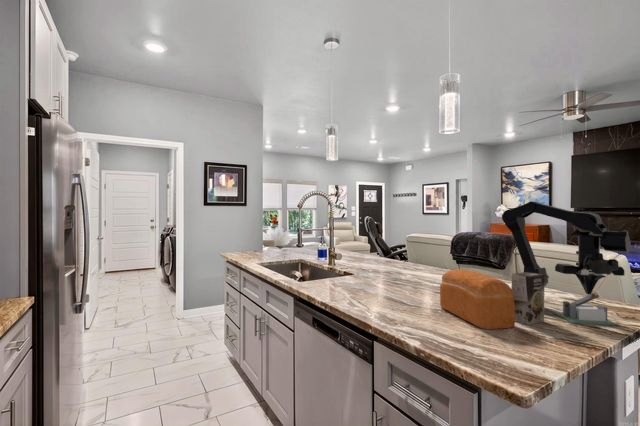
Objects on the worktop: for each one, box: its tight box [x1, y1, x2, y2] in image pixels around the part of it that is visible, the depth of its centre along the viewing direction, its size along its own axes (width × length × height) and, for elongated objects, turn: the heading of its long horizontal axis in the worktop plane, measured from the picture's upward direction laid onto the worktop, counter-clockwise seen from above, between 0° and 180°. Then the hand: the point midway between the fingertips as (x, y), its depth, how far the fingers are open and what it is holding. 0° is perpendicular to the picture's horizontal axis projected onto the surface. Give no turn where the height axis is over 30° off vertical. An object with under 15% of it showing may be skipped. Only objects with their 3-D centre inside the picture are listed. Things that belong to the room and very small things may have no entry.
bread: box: [439, 268, 516, 330], centre depth 117 cm, size 14×26×16 cm, turn 10°
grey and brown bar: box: [566, 290, 600, 308], centre depth 114 cm, size 10×2×2 cm, turn 81°
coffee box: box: [511, 271, 545, 326], centre depth 112 cm, size 9×6×16 cm
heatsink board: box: [554, 300, 616, 326], centre depth 114 cm, size 13×10×5 cm
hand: (588, 294), depth 113 cm, fingers closed
